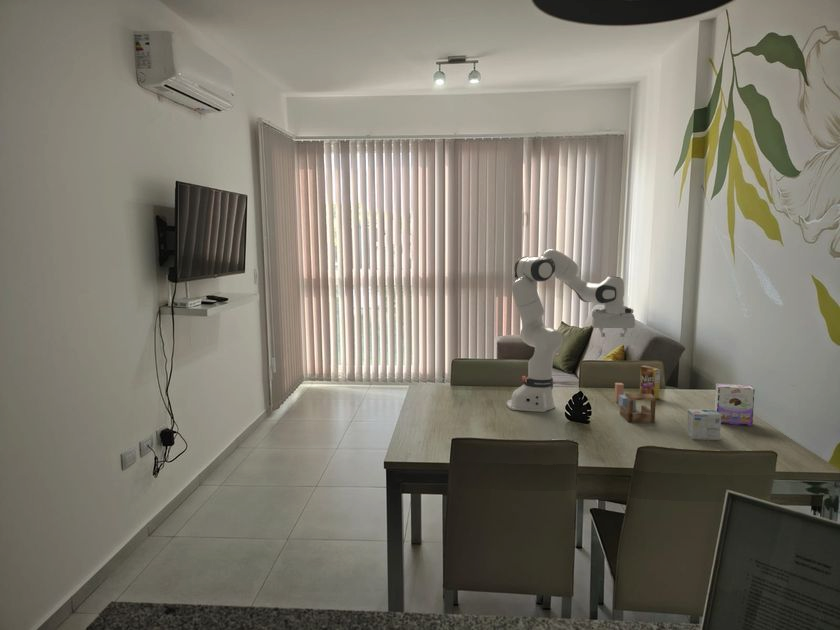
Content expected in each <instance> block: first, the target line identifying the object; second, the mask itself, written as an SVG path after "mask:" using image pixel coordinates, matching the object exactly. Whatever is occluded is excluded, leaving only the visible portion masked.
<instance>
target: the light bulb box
mask: <svg viewBox="0 0 840 630" xmlns="http://www.w3.org/2000/svg"><path fill="white" fill-rule="evenodd" d="M686 423H687V424H686V435H687V436H688V437H689V438H690V439H692V440H704V441H705V440H707V441H708V440H710V441H714V440H715V441H720V440H721V427H722V426H721V425H722V423H721V414H720V413H719V412H717V411H716V410H715V408H714V409H712V408H711V409H710V408H709V409H708V408H707V409H705V408H704V409H700V408H699V409H698V408H697V409H696V408H694V409H692V408H688V409H687V419H686Z"/></svg>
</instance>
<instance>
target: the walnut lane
mask: <svg viewBox="0 0 840 630" xmlns="http://www.w3.org/2000/svg"><path fill="white" fill-rule="evenodd" d="M624 395H625V396H626V397H627V398H628V399H629V403H628V409H627V408H626V407H625V406H624V405H620V408H619V414H620V415H621V416H622V417H623V418H624V419H625V420H626V421H627V422H628V423H630V424H631V423H637V424H639V423H645V424H646V423H647V424H648V423H653V424H654V423H655V421H656V403H657V399H656V397H654V396H653V395H652V394H640V393H625V394H624ZM633 400H636V401H650V408H649V407H647V406H646V405H644V404H643V405H641V406H640V409H641V410H640V412H634V411H633Z"/></svg>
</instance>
